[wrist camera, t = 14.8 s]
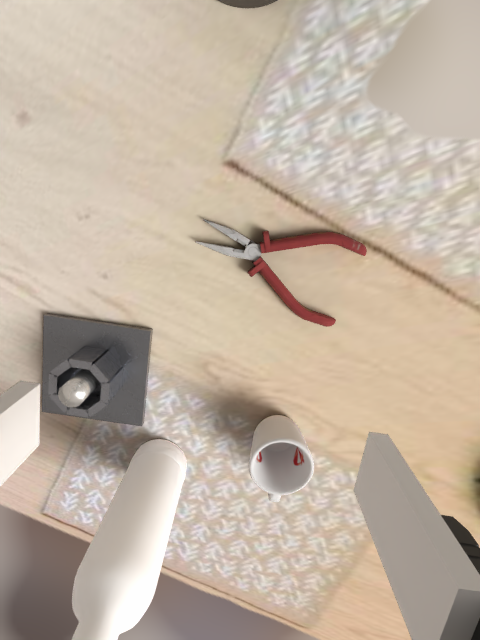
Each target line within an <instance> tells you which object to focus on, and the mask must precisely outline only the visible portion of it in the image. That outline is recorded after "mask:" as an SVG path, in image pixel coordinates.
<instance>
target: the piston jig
mask: <svg viewBox="0 0 480 640" xmlns="http://www.w3.org/2000/svg"><path fill="white" fill-rule="evenodd" d="M152 330H153V329H149V328H143V327H136V326H129V325H123V324H116V323H109V322H102V321H96V320H89V319H82V318H76V317H69V316H62V315H56V314H49V313H47V314H45V315H44V330H43V388H42V412H48V413H55V414H62V415H68V416H75V415H69V414H67V411H66V412H65V413H64V412H63V411H62V410H61V409H60V408H59V407H58V406H57V404H56V403H55V402H54V401H53V400H52V399H51V398H50V397H49V396H51V394H48V390H49V374H50V373H51V372H50V371H52V370H53V369H54V368H56V367H57V366H58V365H60V364H61V363H62V362H64V361H65V360H66V359H68V358H69V357H70V356H72V355H73V354H74V353H76V352H77V351H78V350H80V349H81V348H83V347H84V346H85V347H86V346H92V347H98V348H105V349H107V351H110V352H111V353H112V354H113V355H114V356H115V358H116V359H117V360H118V361H119V362H120V364H121V365H122V367H121V368H123V375H122V386H121V388H120V389H119V391H118V392H117V393H116V395H115V396H114V397H113V399H112V400H111V401H110V402H109V404H108V405H107V406H106V407H104V408H103V409H101V410H100V411H99V412H97V413H96V414H94V415H93V416H91V417H90V416H89V417H82V416H75V417H82V418H89V419H96V420H103V421H110V422H117V423H123V424H130V425H137V426H142V425H143V423H144V416H145V405H146V394H147V384H148V373H149V362H150V351H151V341H152ZM93 391H96V392H101V383H100V382H99V380H98V379H97V378H96V377H95V376H94V375H93V374H92V372H91V371H90V370H87V369H81V368H75V375H74V376H73V377H72V378H71V379H70V380H69V381H67V382H66V383H65V384H64V385H63V386H62V387H61V388H60V389H59V392H58V397H59V400H60V401H61V403H62V404H64V405H65V406H67V407H77V406H79V405H80V404H81V403H82V402H83V401H84V400H85V399H86V398H87V397H88V396H89V395H90V394H91V393H92V392H93Z"/></svg>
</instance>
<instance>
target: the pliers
mask: <svg viewBox="0 0 480 640" xmlns="http://www.w3.org/2000/svg"><path fill="white" fill-rule="evenodd" d="M203 220H204V221H205V222H207V223H208V224H210V225H212V226H213V227H215V228H216V229H218V230H219V231H221V232H222V233H224V234H226V235H227V236H229V237H230V238H232V239H233V240H235V241H237V242H239V243H240V244H242V245H243V246H245V247H246V248H245V250H239V249H234V248H233V247H227V246H221V245H216V244H210V243H204V242H198V241H195V242H196V243H198V244H201V245H203V246H205V247H208V248H210V249H212V250H215V251H217V252H219V253H222V254H224V255H227V256H232V257H237V258H243V259H248V260H253V262H252V263H253V264H254V265H255V266H254V267H252V268H251V269H250V270H249V271H248V274H249V275H250V276H251V277H252V276H253V275H255V274H256V273H257V272H258V271H259V273H260V274H261V275H262V276H263V277H264V279H265V280H266V281H267V282H268V283H269V285H270V286H271V287H272V288H273V289H274V291H275V292H276V293H277V294H278V295H279V297H280V298H281V299H282V300H283V301H284V303H285V304H286V305H287V306H288V307H289V308H290V309H291V310H292V311H293V312H294V313H295V314H296V315H297V316H299V317H300V318H302V319H304V320H307V321H310V322H314V323H317V324H320V325H323V326H332V325H333V324H334V323H335V321H336V320H335V319H334V318H332V317H330V316H327V315H324V314H321V313H318V312H315V311H312V310H310V309H308V308H306V307H304V306H303V305H301V304H300V303H299V302H298V301H297V300H296V299H295V298H294V297H293V295H292V294H291V293H290V292H289V291H288V289H287V288H286V287H285V286H284V284H283V283H282V282H281V281H280V280H279V278H278V277H277V276H276V275H275V273H274V272H273V271H272V270H271V269H270V267H269V266H268V265H267V264H266V262H265V261H264V260H263V259H262V258H261V256H260V255H261V253H267V252H273V251H280V250H286V249H293V248H299V247H306V246H312V245H319V244H336V245H339V246H342V247H344V248H346V249H349V250H351V251H353V252H356V253H358V254H361V255H363V256H365V255H366V252H367V251H366V247H365V246H364V245H363V244H362V243H360V242H358V241H356V240H353V239H351V238H349V237H347V236H344V235H342V234H340V233H335V232H318V233H312V234H305V235H299V236H292V237H286V238H279V239H273V240H270V239H269V232H268V231H264V232H263V239H264V242H260V244H256V243H255V242H253V241H251V240H250V239H248V238H247V237H245V236H243V235H242V234H240V233H239V232H237V231H235V230H233V229H230V228H228V227H225V226H222V225H219V224H216V223H213V222H211V221H208V220H205V219H203Z"/></svg>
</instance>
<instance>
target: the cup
mask: <svg viewBox="0 0 480 640" xmlns="http://www.w3.org/2000/svg"><path fill="white" fill-rule="evenodd" d="M249 471H250V475H251V478H252V479H253V481H254V482H255V484H256V485H257V486H258V487H260V488H261V489H262V490H264V491H266V492H268V497H269V500H270V501H273V502H278V501H279V500H280V498H281V495H287V494H292V493H294V492H297V491H299V490H300V489H302V488H303V487H304V486H305V485H306V484H307V483H308V482H309V481H310V479H311V477H312V475H313V471H314V461H313V457H312V454H311V452H310V450H309V448H308V445H307V443H306V441H305V439H304V437H303V434H302V432H301V430H300V428H299V427H298V425H297V424H296V423H295V422H294V421H293V420H291V419H290V418H288V417H285V416H281V415H274V416H269V417H267V418H265V419H264V420H262V421H261V422H260V423H259V424H258V426H257V427H256V429H255V432H254V436H253V441H252V447H251V453H250V459H249Z"/></svg>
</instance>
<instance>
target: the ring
mask: <svg viewBox="0 0 480 640" xmlns="http://www.w3.org/2000/svg"><path fill="white" fill-rule="evenodd" d="M121 367H122V365H121V364H120V362H119V361H118V360H117V359H116V358H115V356H114V355H113V354H112V353H111V352H110V351H107V349H105V348H98V347H92V346H86V347H85V346H84V347H83V348H81V349H80V350H78V351H77V352H76V353H74V354H73V355H72V356H70V357H69V358H68V359H66V360H65V361H64V362H62V363H61V364H60V365H58V366H57V367H56V368H54V369H53V370H52V371H50V372H51V373H50V374H49V390H48V394H51V396H49V397H50V398H51V399H52V400H53V401H54V402H55V403H56V404H57V406H58V407H59V408H60V409H61V410H62V411H63V412H64V413H65V412H66V411H67V414H69V415H75V416H82V417H89V416H90V417H91V416H93V415H94V414H96V413H97V412H99V411H100V410H101V409H103V408H104V407H106V406H107V405H108V404H109V402H110V401H111V400H112V399H113V397H114V396H115V395H116V393H117V392H118V391H119V389H120V388H121V386H122V375H123V368H121ZM75 368H81V369H87V370H90V371H91V372H92V374H93V375H94V376H95V377H96V378H97V379H98V380H99V382H100V383H101V392H96V391H93V392H92V393H91V394H90V395H89V396H88V397H87V398H86V399H85V400H84V401H83V402H82V403H81V404H80V405H79V406H77V407H67V406H65V405H64V404H62V403H61V401H60V400H59V397H58V392H59V389H60V388H61V387H62V386H63V385H64V384H65V383H66V382H67V381H69V380H70V379H71V378H72V377H73V376H74V375H75Z"/></svg>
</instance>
